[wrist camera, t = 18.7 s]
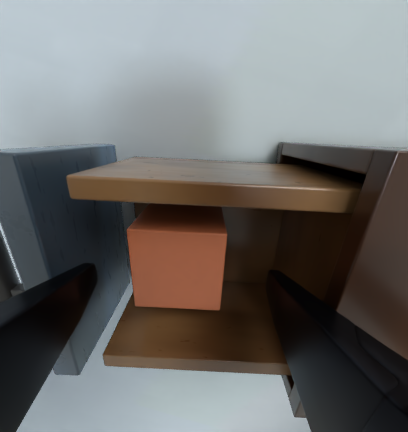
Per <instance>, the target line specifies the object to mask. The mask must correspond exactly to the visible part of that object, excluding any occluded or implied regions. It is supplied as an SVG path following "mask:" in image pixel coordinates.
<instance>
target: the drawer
mask: <svg viewBox="0 0 408 432" xmlns="http://www.w3.org/2000/svg"><path fill="white" fill-rule="evenodd" d="M362 186H363V184H362V183H359V182H355V181H352V180H349V179H345V178H342V177H339V176H335V175H332V174H329V173H326V172H322V171H319V170H316V169H312V168H309V167H306V166H302V165H292V164H272V163H252V162H232V161H212V160H192V159H173V158H153V157H132V158H129V159H125V160H122V161H118V162H117V161H116V152H115V146H114V145H110V144H84V145H68V146H51V147H34V148H17V149H0V223H1V226H2V228H3V231H4V234H5V237H6V239H7V242H8V245H9V248H10V250H11V253H12V256H13V259H14V262H15V264H16V267H17V270H18V273H19V275H20V278H21V281H22V284H21V283H20V282H19V280H18V277H17V274H16V272H15V269H14V266H13V263H12V261H11V258H10V255H9V252H8V250H7V247H6V244H5V242H4V239H3V236H2V233H1V231H0V303H1V302H3V301H5V300H7V299H9V298H11V297H13V296H15V295H17V294H19V293H22V292H24V291H26V290H28V289H30V288H32V287H34V286H36V285H38V284H41V283H43V282H45V281H47V280H49V279H51V278H53V277H55V276H57V275H59V274H62V273H64V272H66V271H68V270H70V269H72V268H74V267H76V266H78V265H81V264H83V263H94V264H95V266H96V270H97V276H98V283H97V285H96V288H95V290H94V292H93V294H92V296H91V299H90V301H89V303H88V305H87V308H86V310H85V312H84V314H83V316H82V318H81V320H80V322H79V323H78V325H77V327H76V329H75V330H74V332H73V334H72V335H71V337H70V339H69V341H68V342H67V344H66V346H65V348H64V349H63V351H62V353H61V355H60V356H59V358H58V360H57V361H56V363H55V365H54V367H53V370H54V372H55V374H57V375H77V376H78V375H80V373H81V371H82V369H83V368H84V366H85V364H86V362H87V360H88V358H89V357H90V355H91V353H92V351H93V349H94V347H95V345H96V344H97V342H98V340H99V338H100V336H101V334H102V332H103V331H104V329H105V327H106V325H107V323H108V321H109V320H110V318H111V316H112V314H113V312H114V310H115V308H116V307H117V305H118V303H119V301H120V299H121V297H122V295H123V294H124V292H125V290H126V288H127V286H128V284H129V283H130V277H129V268H128V259H127V251H126V242H125V233H124V224H123V215H122V206H121V202H134V206H135V218H137V217H138V216H139V215H140V214H141V213H142V211H143V210H144V209H145V208H146V207H147V206H148V205H149V203H155V204H175V205H195V206H214V207H222V210H223V215H224V220H225V225H226V230H227V245H226V255H225V265H224V275H223V285H222V295H221V305H220V310H200V309H179V308H159V307H139V306H135V304H134V294H133V293H132V295H131V297H130V299H129V302H128V304H127V306H126V308H125V310H124V312H123V314H122V316H121V318H120V320H119V322H118V324H117V326H116V328H115V330H114V333H113V335H112V337H111V339H110V341H109V343H108V345H107V347H106V349H105V351H104V353H103V359H104V364H105V366H117V367H137V368H156V369H176V370H195V371H215V372H234V373H254V374H273V375H291V372H290V369H289V366H288V363H287V360H286V358H285V355H284V352H283V349H282V346H281V343H280V340H279V338H278V335H277V332H276V329H275V326H274V323H273V319H272V315H271V310H270V306H269V302H268V297H267V293H266V287H265V286H266V280H267V275H268V271H269V270H279V271H281V272H282V273H284V274H285V275H286V276H288V277H289V278H291V279H292V280H293V281H295V282H296V283H298V284H299V285H301V286H302V287H303V288H305V289H306V290H308V291H309V292H310V293H312V294H313V295H315V296H316V297H317V298H319V299H320V300H322V301H323V299H324V296H325V293H326V290H327V287H328V285H329V282H330V279H331V276H332V273H333V270H334V267H335V264H336V261H337V259H338V256H339V253H340V250H341V247H342V244H343V241H344V238H345V235H346V233H347V230H348V227H349V224H350V221H351V218H352V215H353V212H354V210H355V207H356V204H357V201H358V198H359V195H360V192H361V189H362Z"/></svg>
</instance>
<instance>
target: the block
mask: <svg viewBox="0 0 408 432" xmlns="http://www.w3.org/2000/svg"><path fill="white" fill-rule="evenodd" d="M127 240H128V249H129V258H130V267H131V276H132V285H133V294H134V304H135V306H139V307H159V308H179V309H200V310H220V305H221V295H222V285H223V275H224V265H225V255H226V245H227V230H226V225H225V220H224V215H223V210H222V207H214V206H195V205H175V204H155V203H149V205H148V206H147V207H146V208H145V209H144V210H143V211H142V213H141V214H140V215H139V216H138V217H137V218H136V219H135V220H134V222H133V223H132V224H131V225H130V226H129V227H128V228H127Z"/></svg>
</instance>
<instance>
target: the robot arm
mask: <svg viewBox="0 0 408 432" xmlns="http://www.w3.org/2000/svg"><path fill="white" fill-rule="evenodd" d="M97 283H98V276H97V270H96V266H95V264H94V263H83V264H81V265H78V266H76V267H74V268H72V269H70V270H68V271H66V272H64V273H62V274H59V275H57V276H55V277H53V278H51V279H49V280H47V281H45V282H43V283H41V284H38V285H36V286H34V287H32V288H30V289H28V290H26V291H24V292H22V293H19V294H17V295H15V296H13V297H11V298H9V299H7V300H5V301H3V302H1V303H0V432H16V431H17V429H18V427H19V425H20V424H21V422H22V420H23V419H24V417H25V415H26V413H27V412H28V410H29V408H30V406H31V405H32V403H33V401H34V400H35V398H36V396H37V394H38V393H39V391H40V389H41V387H42V386H43V384H44V382H45V380H46V379H47V377H48V375H49V374H50V372H51V370H52V368H53V367H54V365H55V363H56V361H57V360H58V358H59V356H60V355H61V353H62V351H63V349H64V348H65V346H66V344H67V342H68V341H69V339H70V337H71V335H72V334H73V332H74V330H75V329H76V327H77V325H78V323H79V322H80V320H81V318H82V316H83V314H84V312H85V310H86V308H87V305H88V303H89V301H90V299H91V296H92V294H93V292H94V290H95V288H96V285H97ZM265 287H266V293H267V297H268V302H269V306H270V310H271V315H272V319H273V323H274V326H275V329H276V332H277V335H278V338H279V340H280V343H281V346H282V349H283V352H284V355H285V358H286V360H287V363H288V366H289V369H290V372H291V375H292V378H293V381H294V383H295V386H296V389H297V392H298V395H299V398H300V401H301V403H302V406H303V409H304V412H305V415H306V418H307V421H308V424H309V426H310V429H311V432H408V360H407V359H406V358H404V357H402V356H401V355H399V354H398V353H396V352H395V351H393V350H392V349H390V348H389V347H387V346H386V345H384V344H383V343H381V342H380V341H378V340H377V339H375V338H374V337H373V336H371V335H370V334H368V333H367V332H365V331H364V330H363V329H361V328H360V327H358V326H357V325H355V324H354V323H353V322H351V321H350V320H348V319H347V318H346V317H344V316H343V315H341V314H340V313H339V312H337V311H336V310H334V309H333V308H331V307H330V306H329V305H327V304H326V303H324V302H323V301H322V300H320V299H319V298H317V297H316V296H315V295H313V294H312V293H310V292H309V291H308V290H306V289H305V288H303V287H302V286H301V285H299V284H298V283H296V282H295V281H293V280H292V279H291V278H289V277H288V276H286V275H285V274H284V273H282V272H281V271H279V270H269V271H268V275H267V280H266V286H265Z"/></svg>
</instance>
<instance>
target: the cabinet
mask: <svg viewBox="0 0 408 432" xmlns="http://www.w3.org/2000/svg"><path fill="white" fill-rule="evenodd" d="M276 164H292V165H302V166H306V167H309V168H312V169H316V170H319V171H322V172H326V173H329V174H332V175H335V176H339V177H342V178H345V179H349V180H352V181H355V182H359V183H362V184H363V186H362V189H361V192H360V195H359V198H358V201H357V204H356V207H355V210H354V212H353V215H352V218H351V221H350V224H349V227H348V230H347V233H346V235H345V238H344V241H343V244H342V247H341V250H340V253H339V256H338V259H337V261H336V264H335V267H334V270H333V273H332V276H331V279H330V282H329V285H328V287H327V290H326V293H325V296H324V299H323V302H324V303H326V304H327V305H329V306H330V307H331V308H333V309H334V310H336V311H337V312H339V313H340V314H341V315H343V316H344V317H346V318H347V319H348V320H350V321H351V322H353V323H354V324H355V325H357V326H358V327H360V328H361V329H363V330H364V331H365V332H367V333H368V334H370V335H371V336H373V337H374V338H375V339H377V340H378V341H380V342H381V343H383V344H384V345H386V346H387V347H389V348H390V349H392V350H393V351H395V352H396V353H398V354H399V355H401V356H402V357H404V358H406V359H407V360H408V149H406V148H386V147H366V146H346V145H327V144H307V143H287V142H280V143H279V149H278V154H277V160H276ZM282 378H283V381H284V385H285V388H286V391H287V394H288V397H289V401H290V405H291V408H292V411H293V414H294V417H301V418H306V415H305V412H304V409H303V406H302V403H301V401H300V398H299V395H298V392H297V389H296V386H295V383H294V381H293V378H292V375H282Z"/></svg>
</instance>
